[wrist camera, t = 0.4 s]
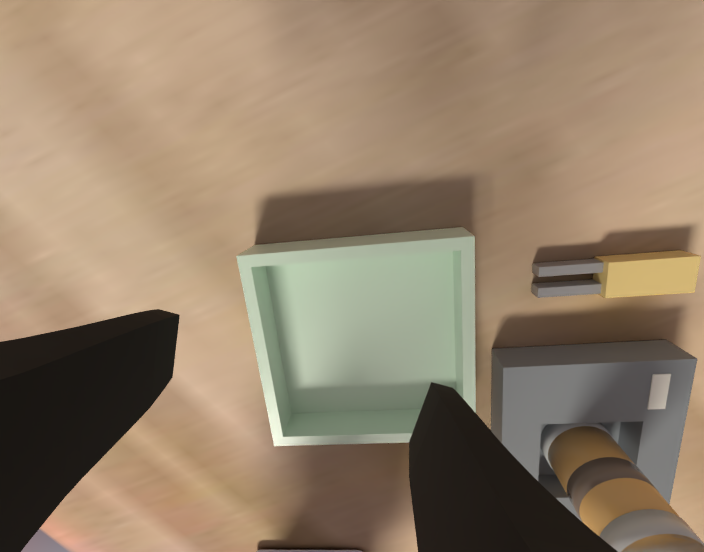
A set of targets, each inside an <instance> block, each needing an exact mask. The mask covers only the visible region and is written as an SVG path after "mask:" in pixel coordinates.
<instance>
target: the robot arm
mask: <svg viewBox="0 0 704 552" xmlns="http://www.w3.org/2000/svg"><path fill="white" fill-rule="evenodd" d="M178 324H179V315H178V314H174V313H171V312H167V311H163V310H159V309H157V310H149V311H144V312H139V313H134V314H130V315H125V316H121V317H117V318H113V319H108V320H104V321H100V322H96V323H91V324H87V325H83V326H79V327H74V328H69V329H65V330H60V331H55V332H50V333H45V334H40V335H36V336H31V337H26V338H21V339H15V340H9V341H3V342H0V552H21V551H22V549H23V548H24V547H25V545H26V544H27V543H28V541H29V540H30V539H31V538H32V537H33V535H34V534H35V533H36V532H37V530H38V529H39V528H40V527H41V526H42V524H43V523H44V522H45V521H46V520H47V518H48V517H49V516H50V515H51V513H52V512H53V511H54V510H55V508H56V507H57V506H58V505H59V504H60V502H61V501H62V500H63V499H64V498H65V496H66V495H67V494H68V493H69V492H70V491H71V490H72V489H73V488H74V486H75V485H76V484H77V483H78V482H79V481H80V480H81V479H82V478H83V477H84V476H85V475H86V474H87V472H88V471H89V470H90V469H91V468H92V467H93V466H94V465H95V464H96V463H97V462H98V461H99V460H100V459H101V458H102V457H103V456H104V455H105V454H106V453H107V452H108V451H109V450H110V449H111V448H112V447H113V446H114V445H115V444H116V443H117V442H118V441H119V440H120V438H121V437H122V436H123V435H124V434H125V433H126V432H127V431H128V430H129V429H130V428H131V427H132V426H133V425H134V424H135V423H136V422H137V421H138V420H139V419H140V418H141V417H142V416H143V414H144V413H145V412H146V411H147V410H148V409H149V408H150V407H151V406H152V404H153V403H154V402H155V400H156V399H157V398H158V396H159V395H160V394H161V392H162V391H163V390H164V388H165V387H166V385H167V384H168V383H169V381H170V380H171V378H172V376H173V367H174V359H175V350H176V341H177V333H178ZM409 478H410V488H411V496H412V505H413V513H414V521H415V529H416V537H417V545H418V552H618V551H617V550H615V549H614V548H613V547H612V546H610V545H609V544H608V543H607V542H606V541H604V540H603V539H602V538H601V537H599V536H598V535H597V534H596V533H594V532H593V531H592V530H591V529H590V528H589V527H587V526H586V525H585V524H584V523H583V522H582V521H580V520H579V519H578V518H577V517H576V516H575V515H574V514H573V513H571V512H570V511H569V510H568V509H567V508H566V507H565V506H564V505H563V504H562V503H561V502H559V501H558V500H557V499H556V498H555V497H554V496H553V495H552V494H551V493H550V492H549V491H547V490H546V489H545V488H544V487H543V486H542V485H541V484H540V483H539V482H538V481H537V480H536V479H535V478H534V477H533V476H532V475H531V474H530V473H529V472H528V471H527V470H526V469H525V468H524V466H523V465H522V464H521V463H520V462H519V461H518V460H517V459H516V458H515V457H514V456H513V455H512V454H511V453H510V452H509V451H508V450H507V448H506V447H505V446H504V445H503V444H502V443H501V442H500V441H499V440H498V438H497V437H496V436H495V435H494V434H493V433H492V432H491V430H490V429H489V428H488V427H487V426H486V425H485V424H484V422H483V421H482V420H481V419H480V418H479V417H478V415H477V414H476V413H475V412H474V411H473V409H472V408H471V407H470V406H469V405H468V404H467V403H466V401H465V400H464V399H463V398H462V397H461V396H460V395H459V394H458V392H457V391H456V390H455V389H454V388H452V387H448V386H444V385H441V384H437V383H433V382H431V384H430V387H429V390H428V392H427V395H426V398H425V400H424V403H423V406H422V408H421V411H420V414H419V416H418V419H417V422H416V424H415V427H414V430H413V433H412V435H411V438H410V441H409ZM256 552H363V551H361V550H258V551H256Z"/></svg>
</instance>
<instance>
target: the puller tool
mask: <svg viewBox="0 0 704 552" xmlns="http://www.w3.org/2000/svg"><path fill="white" fill-rule="evenodd" d="M700 258H701V256H699V255H696V254H692V253H689V252H685V251H682V250H676V251H663V252H650V253H636V254H623V255H610V256H597V257H595V258H594V259H582V260H569V261H555V262H542V263H533V268H532V273H534V274H535V275H537V276H538V277H546V276H560V275H574V274H588V273H593V279H588V280H574V281H559V282H545V283H532V293H533V294H534V295H535V296H536V297H538V298H540V297H555V296H571V295H586V294H599V295H601V296H602V297H604V298H617V297H632V296H648V295H664V294H679V293H694V292H695V286H696V281H697V275H698V270H699V264H700Z"/></svg>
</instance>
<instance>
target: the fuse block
mask: <svg viewBox="0 0 704 552" xmlns="http://www.w3.org/2000/svg"><path fill="white" fill-rule="evenodd" d="M696 363H697V358H695V357H694V356H692V355H690V354H689V353H687V352H685V351H684V350H682V349H681V348H679V347H677V346H676V345H674V344H672V343H671V342H669V341H667V340H649V341H630V342H611V343H591V344H572V345H553V346H534V347H514V348H495V349H492V389H491V432H492V433H493V434H494V435H495V436H496V437H497V438H498V440H499V441H500V442H501V443H502V444H503V445H504V446H505V447H506V448H507V450H508V451H509V452H510V453H511V454H512V455H513V456H514V457H515V458H516V459H517V460H518V461H519V462H520V463H521V464H522V465H523V466H524V468H525V469H526V470H527V471H528V472H529V473H530V474H531V475H532V476H533V477H534V478H535V479H536V480H537V481H538V482H539V483H540V484H541V485H542V486H543V487H544V488H545V489H546V490H547V491H549V492H550V493H551V494H552V495H553V496H554V497H555V498H556V499H557V500H558V501H559V502H561V503H562V504H563V505H564V506H565V507H566V508H567V509H568V510H569V511H570V512H571V513H573V514H574V515H575V516H576V517H577V518H578V519H579V520H580V521H581V519H580V517H579V516H578V514H577V512H576V510H575V508H574V507H573V505H572V503H571V501H570V500H569V498H568V495H567V493H566V492H565V490H564V488H563V486H562V485H561V483H560V481H559V479H558V477H557V476H556V474H555V472H554V470H553V469H552V468H551V467H550V465H549V463H548V462H547V460H546V458H545V456H544V454H543V453H542V451H541V448H540V441H541V433H542V431H543V429H544V428H545V427H546V426H547V425H548V424H569V423H602V425H603V426H604V427H605V428H606V429H607V430H608V432H609V433H610V434H611V435H612V436H613V438H614V439H615V441H616V442H617V444H618V445H619V446H620V447H621V448H622V450H623V451H624V452H625V453H626V454H627V455H628V457H629V458H630V459H631V460H632V461H633V463H634V464H635V465H636V466H637V467H638V468H639V469H640V470H641V471H642V472H643V474H644V475H645V476H646V477H647V478H648V480H649V481H650V482H651V483H652V484H653V485H654V487H655V488H656V489H657V490H658V492H659V493H660V494H661V496H662V497H663V498H664V499H665V500H666V501H667V503H668V504H670V498H671V493H672V488H673V483H674V478H675V472H676V467H677V462H678V457H679V452H680V446H681V441H682V436H683V431H684V426H685V420H686V415H687V410H688V405H689V399H690V394H691V389H692V384H693V379H694V373H695V368H696Z"/></svg>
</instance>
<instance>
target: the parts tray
mask: <svg viewBox="0 0 704 552" xmlns="http://www.w3.org/2000/svg"><path fill="white" fill-rule="evenodd" d="M237 261H238V266H239V271H240V276H241V281H242V286H243V291H244V296H245V301H246V306H247V311H248V316H249V321H250V327H251V332H252V337H253V342H254V347H255V352H256V357H257V362H258V367H259V372H260V377H261V382H262V387H263V392H264V397H265V402H266V407H267V412H268V417H269V422H270V427H271V432H272V437H273V442H274V446H298V445H336V444H374V443H409V441H410V438H411V435H412V433H413V430H414V427H415V424H416V422H417V419H418V416H419V414H420V411H421V408H422V406H423V403H424V400H425V398H426V395H427V392H428V390H429V387H430V384H431V382H433V383H437V384H441V385H444V386H448V387H452V388H454V389H455V390H456V391H457V392H458V394H459V395H460V396H461V397H462V398H463V399H464V400H465V401H466V403H467V404H468V405H469V406H470V407H471V408H472V409H473V411H474V412H475V413H476V387H475V236H474V235H473V234H471V233H470V232H469V231H467V230H466V229H465V228H463V227H456V228H444V229H433V230H421V231H410V232H398V233H387V234H375V235H364V236H352V237H340V238H329V239H317V240H306V241H294V242H283V243H271V244H260V245H253V246H252V247H250V248H249V249H247V250H245V251H244V252H242V253H241V254H239V255H237Z"/></svg>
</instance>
